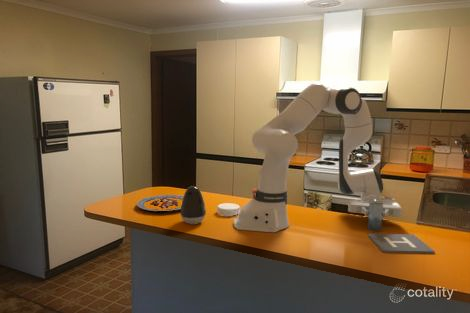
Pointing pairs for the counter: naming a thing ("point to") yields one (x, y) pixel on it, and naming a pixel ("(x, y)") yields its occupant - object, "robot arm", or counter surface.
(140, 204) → the ceramic plate
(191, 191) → the black rounded cylinder
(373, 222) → the canister
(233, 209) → the coaster
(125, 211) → the counter surface
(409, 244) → the letter board
